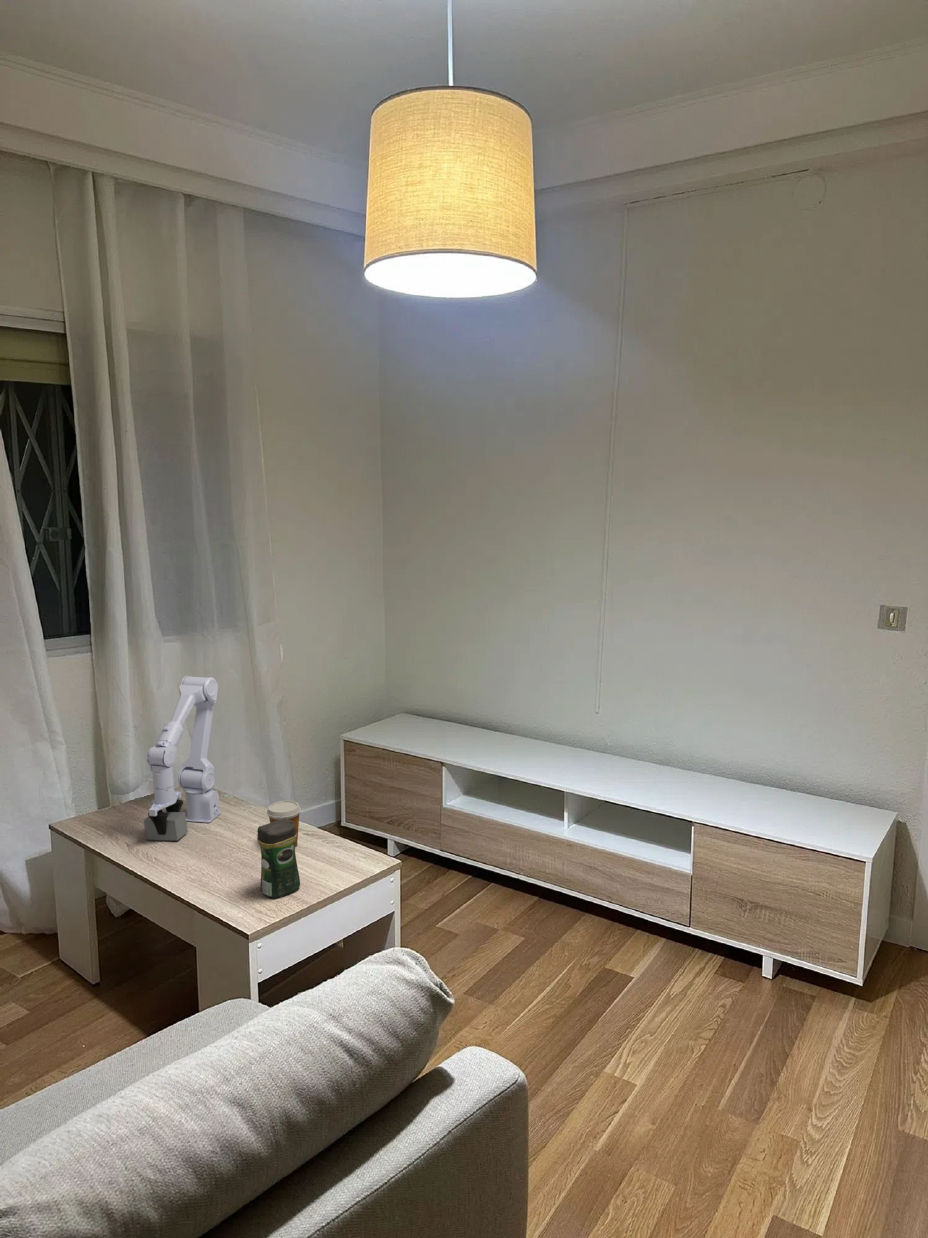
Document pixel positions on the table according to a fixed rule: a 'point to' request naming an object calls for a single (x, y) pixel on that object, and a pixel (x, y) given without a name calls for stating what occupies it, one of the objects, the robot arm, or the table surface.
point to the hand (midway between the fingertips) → (167, 829)
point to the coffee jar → (278, 858)
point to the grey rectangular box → (167, 827)
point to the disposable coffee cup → (285, 813)
